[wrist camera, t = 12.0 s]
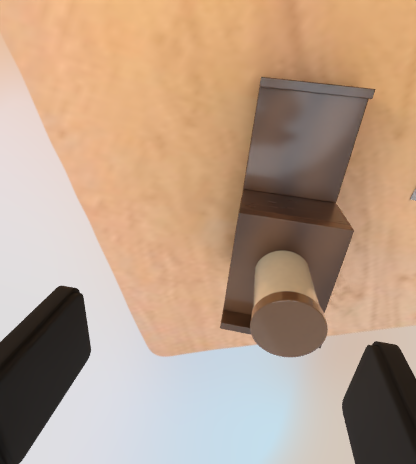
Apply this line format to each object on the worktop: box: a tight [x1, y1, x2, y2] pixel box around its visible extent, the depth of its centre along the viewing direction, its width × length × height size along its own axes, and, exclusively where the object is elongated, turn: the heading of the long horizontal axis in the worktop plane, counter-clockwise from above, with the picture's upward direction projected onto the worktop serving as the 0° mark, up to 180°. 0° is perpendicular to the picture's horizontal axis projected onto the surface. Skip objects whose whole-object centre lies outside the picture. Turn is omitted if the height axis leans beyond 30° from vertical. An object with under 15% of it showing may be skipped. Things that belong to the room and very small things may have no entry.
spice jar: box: [250, 251, 328, 357], centre depth 25 cm, size 6×6×8 cm
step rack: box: [220, 77, 375, 348], centre depth 30 cm, size 10×23×13 cm, turn 174°
